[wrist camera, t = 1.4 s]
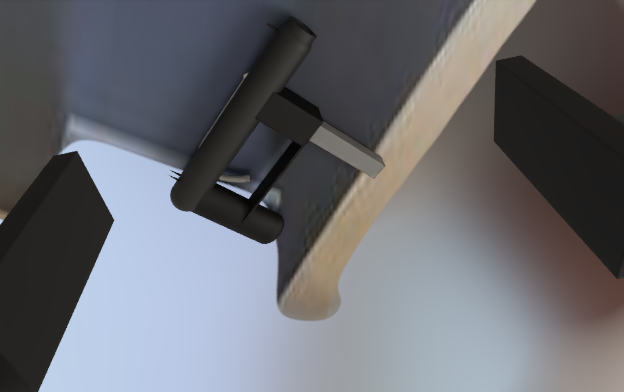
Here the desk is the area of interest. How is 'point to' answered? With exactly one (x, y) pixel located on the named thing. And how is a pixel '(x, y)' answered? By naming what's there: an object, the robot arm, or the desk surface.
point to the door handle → (240, 124)
